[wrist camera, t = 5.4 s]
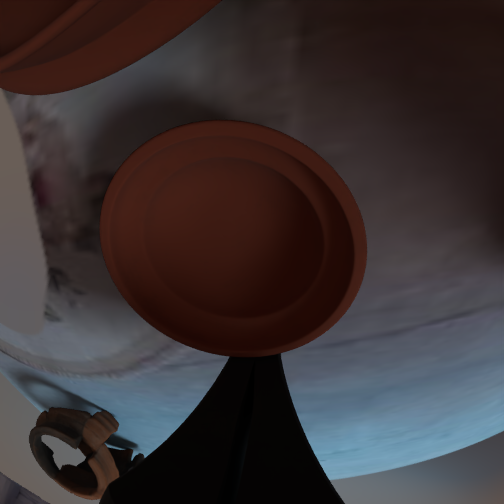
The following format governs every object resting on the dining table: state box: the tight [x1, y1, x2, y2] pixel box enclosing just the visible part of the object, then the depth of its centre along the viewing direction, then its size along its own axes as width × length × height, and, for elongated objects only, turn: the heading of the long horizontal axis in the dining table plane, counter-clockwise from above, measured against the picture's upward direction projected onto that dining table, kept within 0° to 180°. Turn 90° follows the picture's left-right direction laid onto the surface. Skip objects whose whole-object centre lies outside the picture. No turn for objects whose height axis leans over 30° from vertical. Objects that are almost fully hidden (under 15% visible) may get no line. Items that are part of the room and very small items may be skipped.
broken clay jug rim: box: [29, 407, 145, 500], centre depth 19 cm, size 12×10×8 cm
